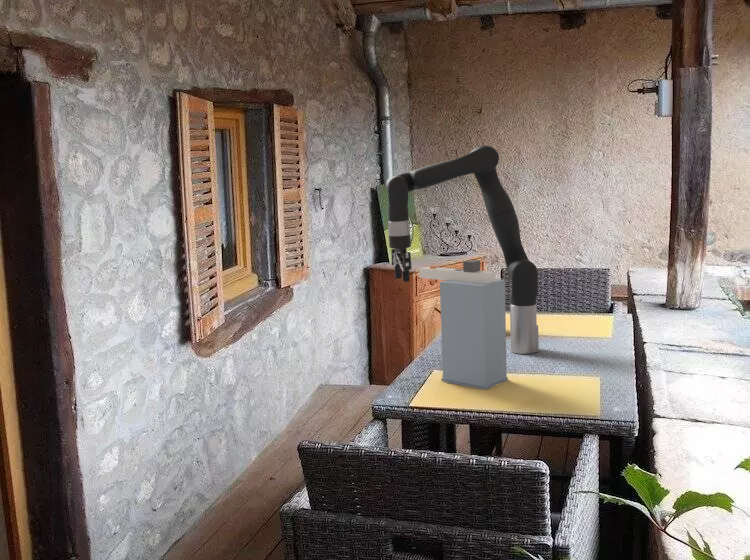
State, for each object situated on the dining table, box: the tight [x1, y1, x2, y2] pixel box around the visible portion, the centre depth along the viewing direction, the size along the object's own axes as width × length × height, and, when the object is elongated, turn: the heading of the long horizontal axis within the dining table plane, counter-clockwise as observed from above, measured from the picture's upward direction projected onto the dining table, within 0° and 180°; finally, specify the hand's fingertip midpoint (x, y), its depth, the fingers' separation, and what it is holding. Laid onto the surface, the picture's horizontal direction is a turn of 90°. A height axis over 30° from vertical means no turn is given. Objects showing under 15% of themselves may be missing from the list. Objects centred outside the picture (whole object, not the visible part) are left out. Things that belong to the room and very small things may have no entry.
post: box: [439, 278, 509, 391], centre depth 241 cm, size 17×13×32 cm
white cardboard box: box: [418, 259, 496, 284], centre depth 242 cm, size 26×4×6 cm, turn 49°
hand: (402, 280), depth 269 cm, fingers open, 8 cm apart
